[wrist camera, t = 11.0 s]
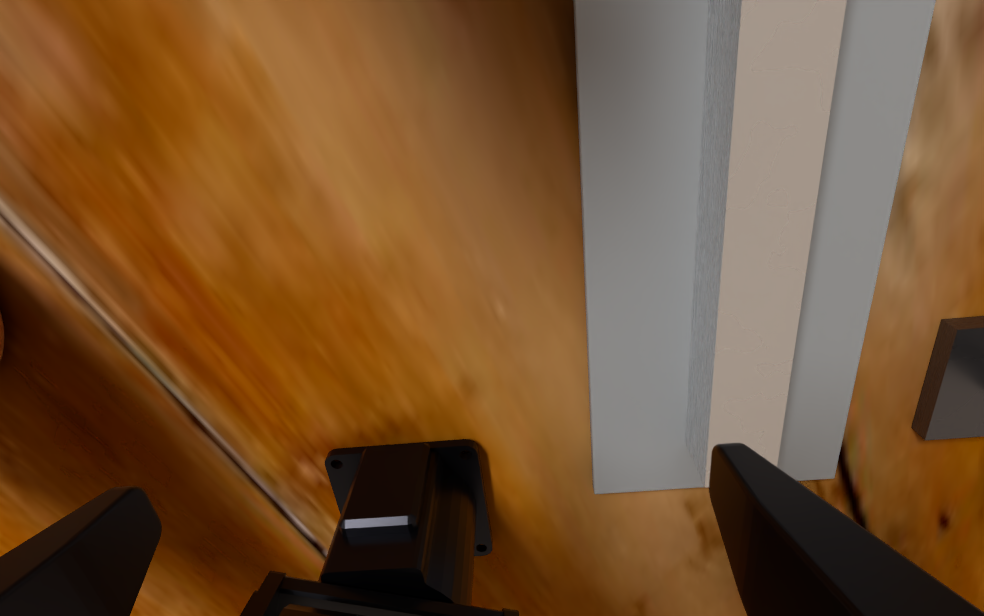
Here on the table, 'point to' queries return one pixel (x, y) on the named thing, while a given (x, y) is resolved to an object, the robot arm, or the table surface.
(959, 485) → the table surface
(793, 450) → the mat
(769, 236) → the rail
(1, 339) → the wine bottle
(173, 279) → the table surface
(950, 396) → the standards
